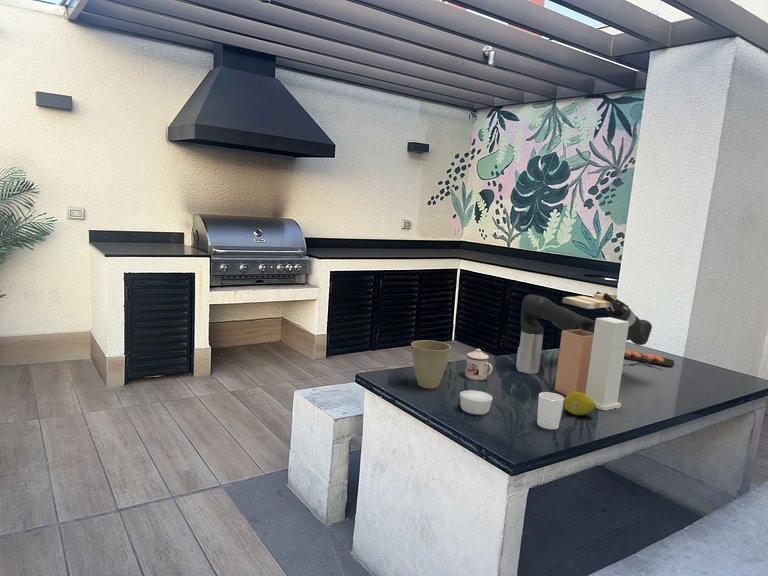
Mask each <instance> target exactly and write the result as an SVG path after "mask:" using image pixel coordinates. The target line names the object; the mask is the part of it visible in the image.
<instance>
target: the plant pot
mask: <svg viewBox="0 0 768 576" xmlns="http://www.w3.org/2000/svg"><path fill="white" fill-rule="evenodd" d="M451 349H452V346H451V345H450V344H448V343H445V342H443V341H437V340H426V339H424V340H415V341H413V342H411V356H412V357H411V358H412V363H413V369H414V374H415V377H416V382H417V385H418V386H419V387H421V388H423V389H429V390H430V389H431V390H432V389H436V388H438V387H439V385H440V383H441V380H442V378H443V375H444V374H445V370H446V368H447V365H448V361H449V357H450V353H451Z"/></svg>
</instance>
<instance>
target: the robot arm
mask: <svg viewBox="0 0 768 576" xmlns="http://www.w3.org/2000/svg"><path fill="white" fill-rule="evenodd" d="M607 293H608V292H605V293H603V294H604V296H603V298H604V299H605V300H606V301H608V302H610V305H609V307H604V308H605V309H606V310H607V314H608V316H609V317H611V318H615V319H619V320H623V321H627V322H629V327H628V334H627V341H631V342H632V343H633V344H635V345H637V346H644V345H646V344H647V343H648V341H649V337H650V335H651V332H652V329H653V326H652V323H651V322H650V321H648V320H646V319H640V318H639V317H638V316H637V315H636V314H635V313H634V311H633V310H632V309H630V307H629V306H628V305H627V304H626V303H624V302H623V301H621V300H619V299H618V298H616V300H615V299H614V298H612V297H610V296H609V295H608V294H607ZM595 294H602V293H601V292H600V291H597V292H596V293H595ZM538 319H543V320H546V321H550V322H551V324H552V325H554V326H555V327H556V328H558V329H560V330H562V331H563V330H575V329H576V328H578V329H581V330H584V331H587V332H591V333H594V329H595V322H596V320H594V319H591V318H588V317H585V316H582V315H580V314H578V313H576V312H574V311H572V310H570V309H569V308H566V307H564V306H560V305H558V304H556V303H554V302H553V301H551V300H550V299H549V298H547V297H545V296H541V295H537V294H532V293H531V294H530V293H529V294H527V295H526V296H525V297H524V298H523V300H522V304H521V312H520V327H521V329H520V332H521V333H520V341H519V346H518V347H517V354H516V365H515V368H516V370H517V372H520V373H523V374H530V375H534V374H538V373H539V370H540V364H541V355H542V347H543V338H544V330H545V329H544V326H543V325H542V324H541V323H539V321H538Z"/></svg>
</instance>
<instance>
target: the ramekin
mask: <svg viewBox="0 0 768 576" xmlns="http://www.w3.org/2000/svg"><path fill="white" fill-rule="evenodd" d="M459 398H460V399H459V400H460V401H459V402H460V407H461V409H462V410H463V411H464V412H465V413H467V414H472V415H486V414H487V413H488V412H490V408H491V405H492V402H493V398H494V397H493V396H492V395H491V394H489V393H488V392H485V391H480V390H472V389H469V390H463V391H461V392H459Z"/></svg>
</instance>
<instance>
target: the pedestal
mask: <svg viewBox="0 0 768 576" xmlns="http://www.w3.org/2000/svg"><path fill="white" fill-rule="evenodd" d="M595 321H596V322H595V329H594V336H593V344H592V351H591V358H590V365H589V372H588V380H587V387H586V395H587V396H589V397H590V398H591V399H592V400H593V402H595V404H596V406H595V407H596V408H595V409H597V408H598V409H597V410H599V409H601V410H606V411H610V410H609V409H611V410H615V409H614V408H616V409H620V407H621V408H622V403H620V402H618V400H619V393H620V388H621V387H620V386H621V379H622V372H623V367H624V366H623V365H624V361H625V360H624V359H625V358H624V354H625V350H626V347H627V346H626V345H627V341H628V340H627V334H628V327H629V322H627V321H623V320H619V319H615V318H611V317H610V316H609V317H597V318H595ZM601 410H600V411H601Z"/></svg>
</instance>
